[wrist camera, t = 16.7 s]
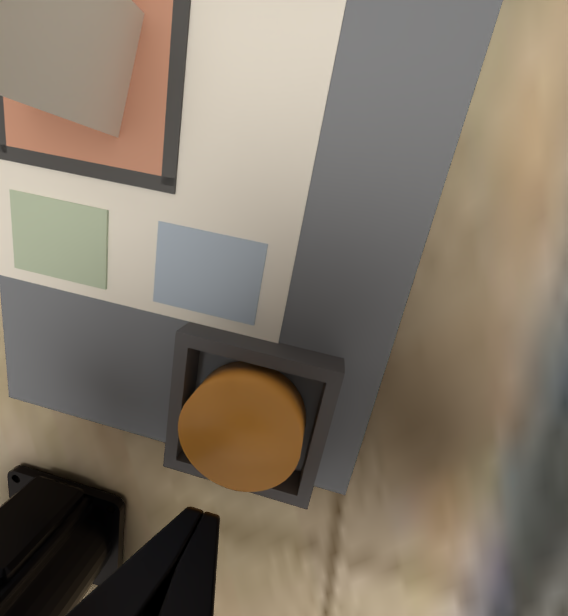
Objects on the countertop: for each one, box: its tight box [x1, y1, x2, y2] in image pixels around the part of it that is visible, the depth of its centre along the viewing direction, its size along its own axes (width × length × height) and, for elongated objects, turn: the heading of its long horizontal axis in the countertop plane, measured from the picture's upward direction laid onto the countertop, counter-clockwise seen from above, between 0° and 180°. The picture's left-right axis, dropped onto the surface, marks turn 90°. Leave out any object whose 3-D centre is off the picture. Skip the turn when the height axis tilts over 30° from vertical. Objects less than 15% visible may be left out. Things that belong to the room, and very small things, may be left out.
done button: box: [178, 361, 306, 492], centre depth 12 cm, size 4×4×2 cm
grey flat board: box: [0, 0, 503, 509], centre depth 11 cm, size 18×16×2 cm
